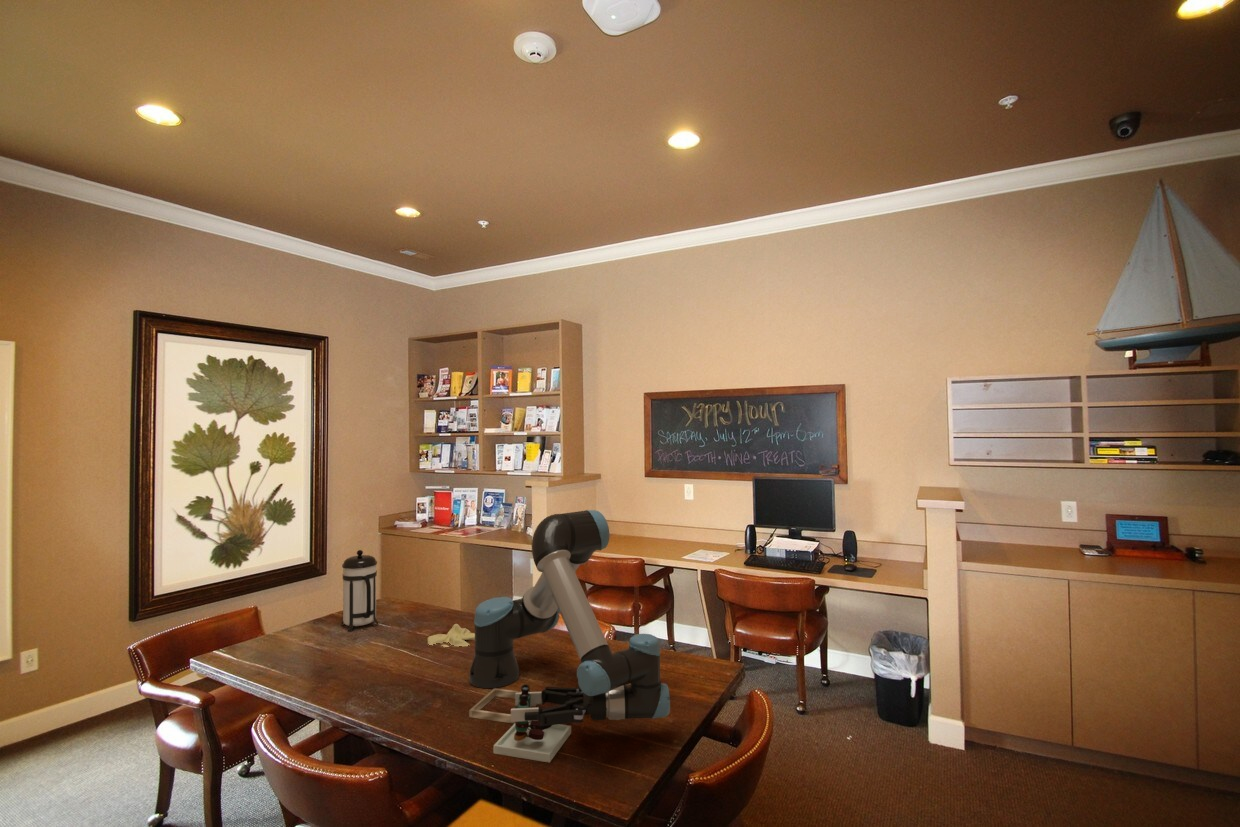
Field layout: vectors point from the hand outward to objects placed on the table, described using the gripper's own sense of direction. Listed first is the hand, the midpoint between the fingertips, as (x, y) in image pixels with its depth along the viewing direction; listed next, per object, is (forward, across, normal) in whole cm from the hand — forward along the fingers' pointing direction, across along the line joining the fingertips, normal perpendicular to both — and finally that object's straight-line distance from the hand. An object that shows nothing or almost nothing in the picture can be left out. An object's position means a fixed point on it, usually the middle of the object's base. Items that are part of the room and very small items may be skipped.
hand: (513, 706), depth 139 cm
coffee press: (+72, +93, -9) cm, 118 cm away
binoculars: (-5, 0, -7) cm, 8 cm away
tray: (-5, 0, -9) cm, 10 cm away
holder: (+4, +18, -9) cm, 21 cm away
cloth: (+30, +73, -10) cm, 80 cm away
